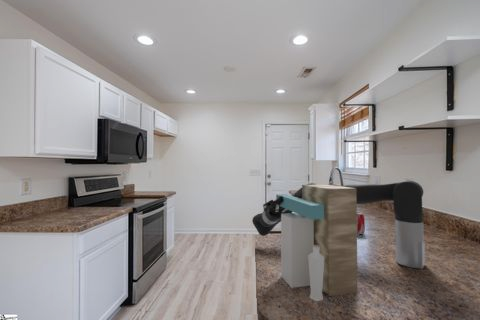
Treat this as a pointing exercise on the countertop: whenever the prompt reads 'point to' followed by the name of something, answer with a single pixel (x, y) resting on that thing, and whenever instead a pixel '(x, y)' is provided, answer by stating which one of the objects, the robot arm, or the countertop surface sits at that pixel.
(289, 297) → the countertop surface
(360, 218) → the soda can
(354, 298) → the countertop surface
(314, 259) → the perfume bottle
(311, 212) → the teal bar
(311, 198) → the maple stand
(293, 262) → the white block
